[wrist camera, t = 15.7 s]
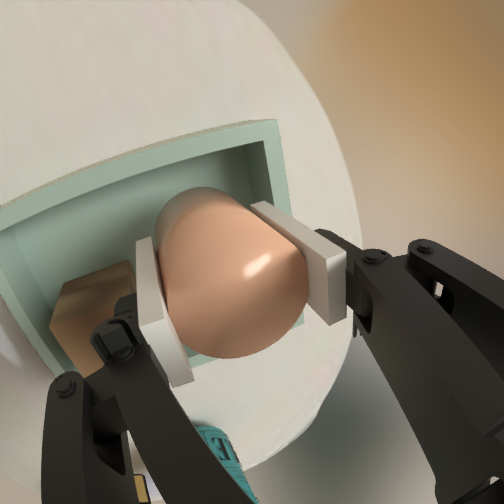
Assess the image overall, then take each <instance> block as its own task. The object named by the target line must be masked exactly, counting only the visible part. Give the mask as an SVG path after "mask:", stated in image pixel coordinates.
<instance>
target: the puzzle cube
mask: <svg viewBox="0 0 504 504" xmlns="http://www.w3.org/2000/svg"><path fill="white" fill-rule="evenodd" d="M134 479H135V484H136V489H137V494H138V498H139V503H140V504H151V501H150V497H149V493H148V489H147V484H146V480H145V476H144V475H134Z"/></svg>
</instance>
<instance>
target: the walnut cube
mask: <svg viewBox="0 0 504 504" xmlns="http://www.w3.org/2000/svg"><path fill="white" fill-rule="evenodd" d="M135 292H137V281H136V276H135V274H134V272H133V269H132V267H131V264H130V262H129V260H126V261H123V262H120V263H118V264H115V265H112V266H109V267H106V268H104V269H101V270H98V271H95V272H92V273H90V274H87V275H84V276H81V277H79V278H76V279H73V280H70V281H68V282H65V283H64V284H63V287H62V289H61V292H60V295H59V298H58V300H57V303H56V306H55V309H54V312H53V315H52V318H51V321H50V325H49V328H50V330H51V332H52V333H53V335H54V336H55V338H56V339H57V341H58V342H59V344H60V345H61V347H62V348H63V350H64V351H65V353H66V354H67V356H68V357H69V358H70V360H71V361H72V363H73V364H74V365H75V367H76V368H77V369H78V371H79V372H80V373H81V375H82V376H83V377H84V378H85V377H87V376H89V375H91V374H92V373H94V372H96V371H97V370H99V369H100V368H102V367H103V366H104V363H103V361H102V360H101V358H100V357H99V355H98V354H97V352H96V351H95V349H94V347H93V346H92V344H91V343H90V336H91V334H92V332H93V330H94V329H95V328H96V327H97V326H98V325H99V324H100V323H102V322H103V321H105V320H107V319H109V318H112V317H114V306H115V305H116V303H117V301H118V300H119V298H120V297H123V296H126V295H129V294H132V293H135Z"/></svg>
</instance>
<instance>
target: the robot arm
mask: <svg viewBox="0 0 504 504" xmlns="http://www.w3.org/2000/svg"><path fill="white" fill-rule="evenodd" d="M250 206H251V212H252V213H253V214H255V215H256V216H257V217H259V218H260V219H261V220H262V221H264V222H265V223H266V224H268V225H269V226H270V227H272V228H273V229H274V230H276V231H277V232H278V233H279V234H281V235H282V236H283V237H285V238H286V239H287V240H288V241H290V242H291V243H292V244H293V245H294V246H295V247H296V248H297V249H298V250H299V251H300V252H301V254H302V255H303V257H304V259H305V261H306V263H307V269H308V279H309V294H308V298H307V303H308V305H309V306H310V307H311V308H312V309H313V310H314V311H315V312H316V313H317V314H318V315H319V316H320V317H321V318H322V319H323V320H324V321H325V322H326V323H327V324H328V325H329V326H330V325H332V324H334V323H336V322H338V321H340V320H342V319H344V318H346V315H347V305H348V306H349V307H350V308H351V309H352V310H353V337H356V334H357V328H358V329H359V331H360V335H362V336H363V338H364V340H365V342H366V343H367V345H368V347H369V349H370V350H371V352H372V354H373V356H374V358H375V359H376V361H377V363H378V365H379V367H380V368H381V370H382V372H383V374H384V375H385V378H386V379H387V381H388V383H389V385H390V387H391V389H392V391H393V392H394V394H395V396H396V398H397V400H398V402H399V404H400V406H401V408H402V410H403V412H404V413H405V415H406V417H407V419H408V421H409V423H410V425H411V427H412V429H413V431H414V433H415V435H416V437H417V439H418V441H419V443H420V445H421V447H422V449H423V451H424V454H425V455H426V458H427V460H428V462H429V464H430V466H431V468H432V471H433V473H434V475H435V478H436V484H435V496H436V499H437V502H438V504H504V280H502V279H501V278H499V277H498V276H496V275H494V274H493V273H491V272H489V271H487V270H486V269H484V268H482V267H480V266H479V265H477V264H475V263H473V262H472V261H470V260H468V259H466V258H464V257H463V256H461V255H459V254H457V253H455V252H453V251H452V250H449V249H448V248H446V247H444V246H442V245H440V244H438V243H436V242H434V241H431V240H426V239H418V240H414V241H412V242H411V243H409V246H408V254H406V255H401V256H396V257H392V256H391V255H390V254H389V253H387V252H386V251H383V250H380V249H366V250H361V249H360V248H358V247H356V246H355V245H353V244H351V243H350V242H348V241H346V240H344V239H343V238H341V237H338V235H336V234H335V233H333V232H331V231H328V230H324V229H317V230H314V231H313V230H312V229H310V228H309V227H307V226H305V225H304V224H302V223H301V222H299V221H297V220H296V219H294V218H292V217H291V216H289V215H287V214H286V213H284V212H283V211H281V210H279V209H278V208H276V207H274V206H273V205H271V204H269V203H268V202H266V201H261V202H258V203H255V204H251V205H250ZM136 281H137V292H135V293H132V294H129V295H126V296H123V297H120V298H119V300H118V301H117V303H116V305H115V306H114V317H112V318H109V319H107V320H105V321H103V322H102V323H100V324H99V325H98V326H97V327H96V328H95V329H94V330H93V332H92V334H91V336H90V343H91V344H92V346H93V347H94V349H95V351H96V352H97V354H98V355H99V357H100V358H101V360H102V361H103V363H104V366H103V367H102V368H100V369H99V370H97V371H96V372H94V373H92V374H91V375H89V376H87V377H85V378H83V376H82V375H81V374H80V373H79V372H76V371H67V372H65V373H63V374H60V375H59V376H58V377H57V378H56V379H54V381H53V382H52V384H51V385H50V388H49V391H48V396H47V403H46V411H45V420H44V430H43V442H42V461H41V498H42V504H140V503H139V498H138V494H137V489H136V484H135V479H134V474H133V468H132V463H131V457H130V450H129V443H128V436H127V430H129V432H130V434H131V436H132V439H133V441H134V443H135V445H136V447H137V450H138V452H139V454H140V456H141V458H142V460H143V462H144V464H145V466H146V468H147V470H148V472H149V474H150V476H151V478H152V479H153V481H154V483H155V485H156V487H157V489H158V490H159V492H160V494H161V496H162V497H163V499H164V501H165V502H166V504H255V503H254V502H253V500H252V499H251V498H250V497H249V496H248V495H247V494H246V492H245V491H244V490H243V489H242V488H241V487H240V485H239V484H238V483H237V482H236V481H235V479H234V478H233V477H232V476H231V475H230V473H229V472H228V471H227V470H226V468H225V467H224V466H223V464H222V463H221V462H220V461H219V459H218V458H217V457H216V455H215V454H214V453H213V451H212V450H211V449H210V447H209V446H208V445H207V443H206V442H205V441H204V439H203V438H202V436H201V435H200V434H199V432H198V431H197V429H196V428H195V426H194V425H193V423H192V422H191V420H190V419H189V418H188V416H187V415H186V413H185V412H184V410H183V408H182V407H181V405H180V404H179V402H178V401H177V399H176V398H175V396H174V394H173V393H172V391H171V390H170V386H169V382H170V383H171V385H172V387H173V388H174V387H177V386H180V385H184V384H187V383H190V382H193V381H195V380H194V377H193V374H192V371H191V367H190V364H189V361H188V357H187V354H186V350H185V347H184V343H183V342H182V341H181V340H180V339H179V337H178V335H177V333H176V330H175V328H174V326H173V324H172V321H171V319H170V317H169V313H168V308H167V304H166V299H165V294H164V289H163V284H162V279H161V273H160V268H159V262H158V257H157V252H156V249H155V246H154V243H153V240H152V237H151V236H150V237H147V238H144V239H141V240H138V241H136ZM437 282H439V283H440V284H442V285H443V290H442V295H441V296H437V295H436V294H435V291H436V286H437ZM168 380H169V381H168ZM493 476H495V477H498V478H500V479H498V480H497V481H495V482H494V483H493V484H491V485H490V479H491V477H493Z"/></svg>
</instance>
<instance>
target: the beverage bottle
mask: <svg viewBox="0 0 504 504" xmlns="http://www.w3.org/2000/svg"><path fill="white" fill-rule="evenodd" d="M196 429H197V431H198V432H199V434H200V435H201V436H202V438H203V439H204V441H205V442H206V443H207V445H208V446H209V447H210V449H211V450H212V451H213V453H214V454H215V455H216V457H217V458H218V459H219V461H220V462H221V463H222V464H223V466H224V467H225V468H226V470H227V471H228V472H229V473H230V475H231V476H232V477H233V478H234V479H235V481H236V482H237V483H238V484H239V485H240V487H241V488H242V489H243V490H244V491H245V492H246V494H247V495H248V496H249V497H250V498H251V499H252V500H253V502H254V503H255V504H258V502H257V500H256V497H255V496H254V494H253V492H252V490H251V488H250V486H249V484H248V482H247V480H246V478H245V476H244V474H243V471H244V470H243V471H242V469H241V468H242V466H241V467H240V465H239V463H238V462H240V461H238V460H239V459H238V458H237V456H236V454H235V453H236V452H234V450H233V447H232V445H231V442H230V439H229V438H228V437H227V436H228V435H227V436H226V434H225V433H224V432H223V431H222V430H221V429H219V428H216V427H210V426H202V427H196ZM228 439H229V440H228ZM240 464H241V463H240Z"/></svg>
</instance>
